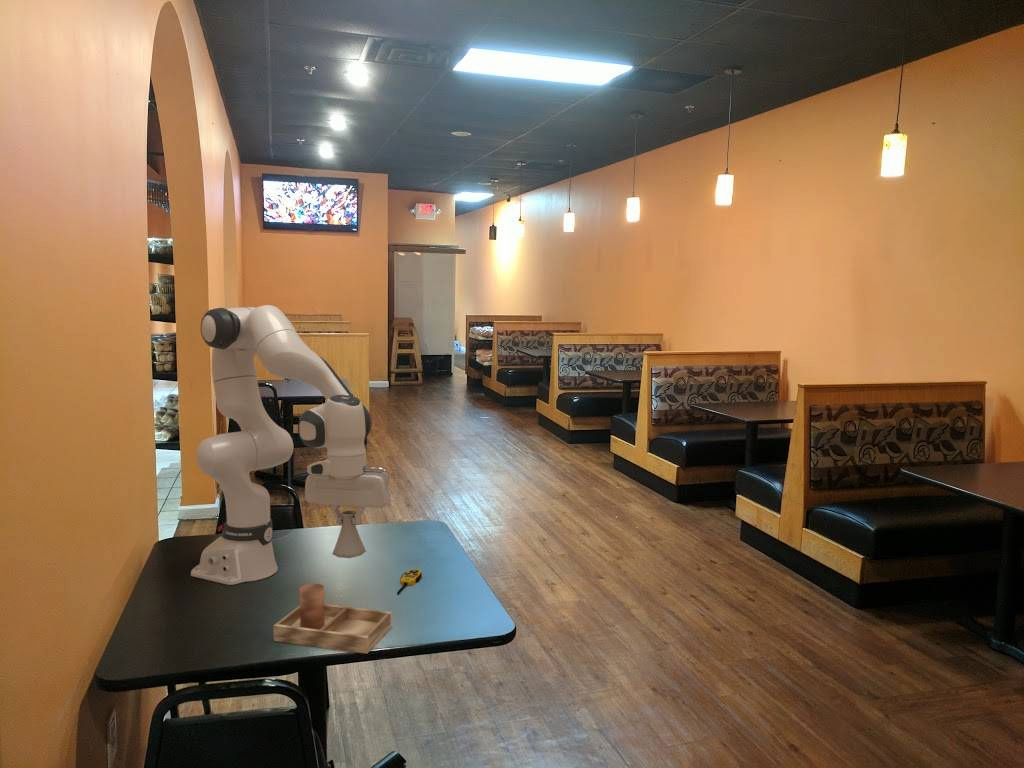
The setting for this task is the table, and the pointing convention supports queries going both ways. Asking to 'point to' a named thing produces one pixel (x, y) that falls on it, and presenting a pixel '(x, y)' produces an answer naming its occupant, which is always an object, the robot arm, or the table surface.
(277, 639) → the condiment caddy
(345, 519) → the flask
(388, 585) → the table surface
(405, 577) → the yellow walkie talkie
